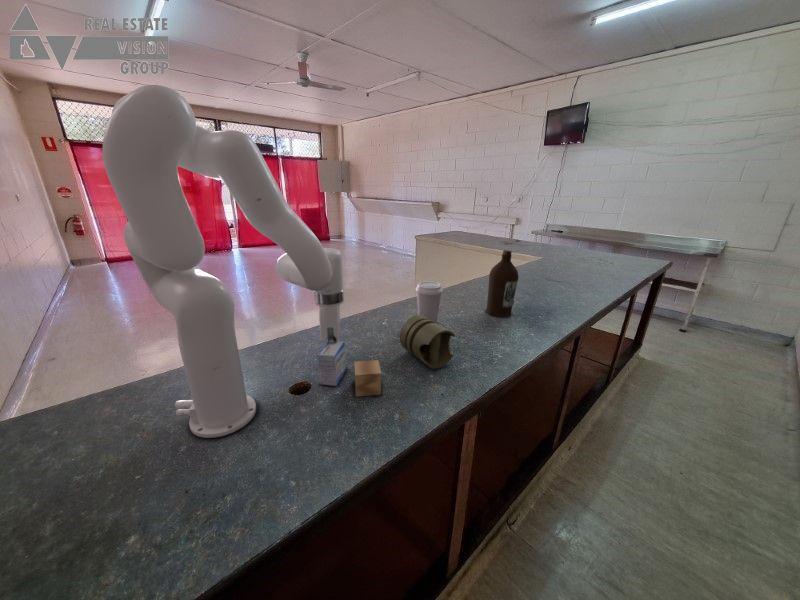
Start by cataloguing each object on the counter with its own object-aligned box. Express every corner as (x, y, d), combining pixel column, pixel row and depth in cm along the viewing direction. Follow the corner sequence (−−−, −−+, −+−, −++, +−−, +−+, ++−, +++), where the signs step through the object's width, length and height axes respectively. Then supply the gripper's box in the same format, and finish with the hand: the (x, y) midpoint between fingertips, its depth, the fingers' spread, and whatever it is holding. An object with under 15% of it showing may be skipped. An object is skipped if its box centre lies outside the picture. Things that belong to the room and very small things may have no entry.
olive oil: (479, 311, 127) (486, 249, 118) (496, 306, 133) (504, 247, 124) (501, 320, 119) (510, 255, 110) (517, 314, 125) (528, 252, 116)
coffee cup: (411, 327, 111) (413, 287, 106) (416, 317, 120) (418, 279, 114) (438, 331, 109) (441, 290, 104) (441, 320, 118) (444, 281, 112)
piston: (423, 373, 85) (425, 336, 81) (399, 354, 94) (400, 319, 90) (454, 362, 90) (458, 326, 86) (428, 344, 100) (431, 311, 96)
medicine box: (336, 386, 78) (335, 356, 75) (319, 385, 79) (317, 354, 76) (346, 369, 86) (345, 341, 83) (330, 367, 86) (328, 339, 83)
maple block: (355, 396, 75) (355, 375, 73) (354, 381, 80) (354, 361, 78) (380, 394, 76) (381, 373, 74) (378, 380, 81) (378, 359, 79)
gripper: (316, 287, 88) (321, 345, 95) (311, 308, 75) (317, 373, 81) (343, 286, 90) (346, 343, 96) (344, 306, 76) (347, 371, 83)
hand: (333, 357), depth 89 cm, fingers closed
